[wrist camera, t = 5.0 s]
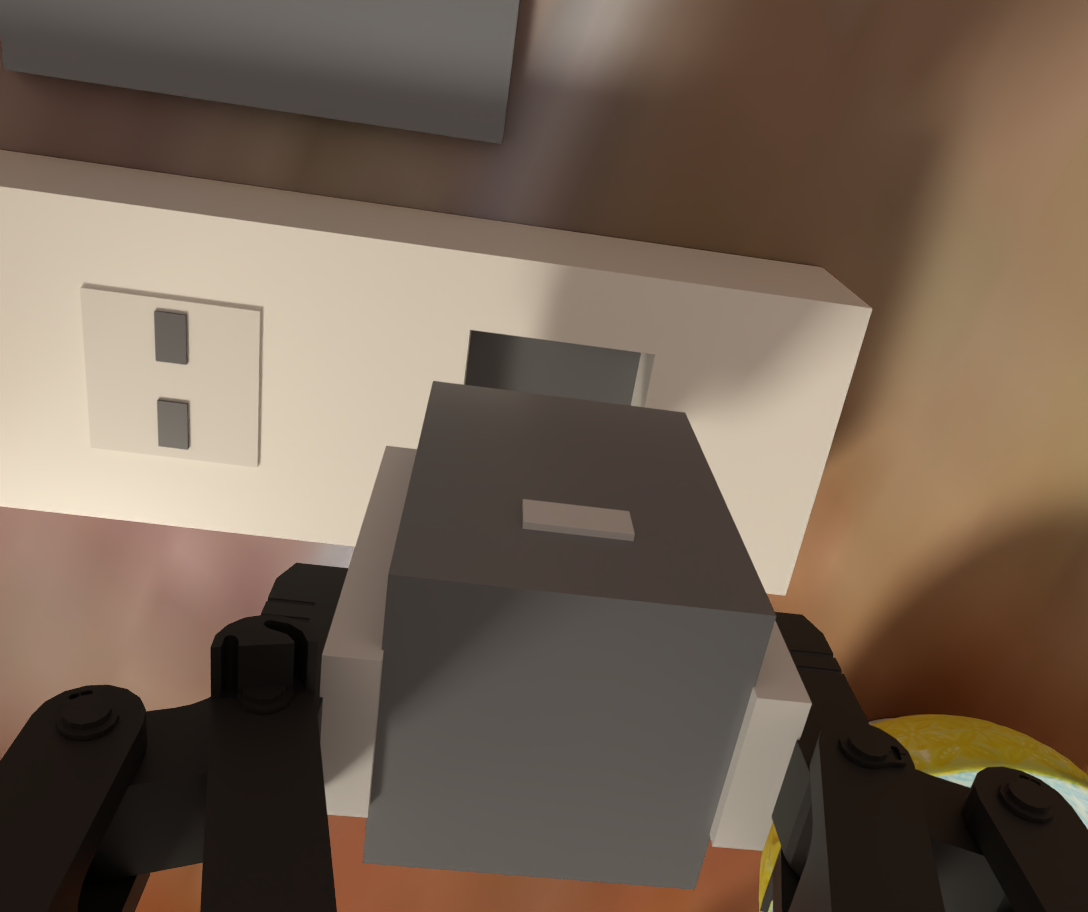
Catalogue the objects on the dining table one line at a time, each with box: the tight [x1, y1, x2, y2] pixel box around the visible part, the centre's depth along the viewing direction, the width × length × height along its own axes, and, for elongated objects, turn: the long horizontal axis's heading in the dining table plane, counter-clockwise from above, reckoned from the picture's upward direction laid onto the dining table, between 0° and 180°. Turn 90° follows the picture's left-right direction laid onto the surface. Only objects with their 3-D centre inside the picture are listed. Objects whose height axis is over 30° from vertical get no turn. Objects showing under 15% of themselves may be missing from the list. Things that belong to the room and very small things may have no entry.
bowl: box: [759, 714, 1088, 912], centre depth 30 cm, size 11×12×6 cm
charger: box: [363, 381, 776, 890], centre depth 17 cm, size 5×5×9 cm
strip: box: [0, 150, 873, 596], centre depth 23 cm, size 30×8×5 cm, turn 82°
